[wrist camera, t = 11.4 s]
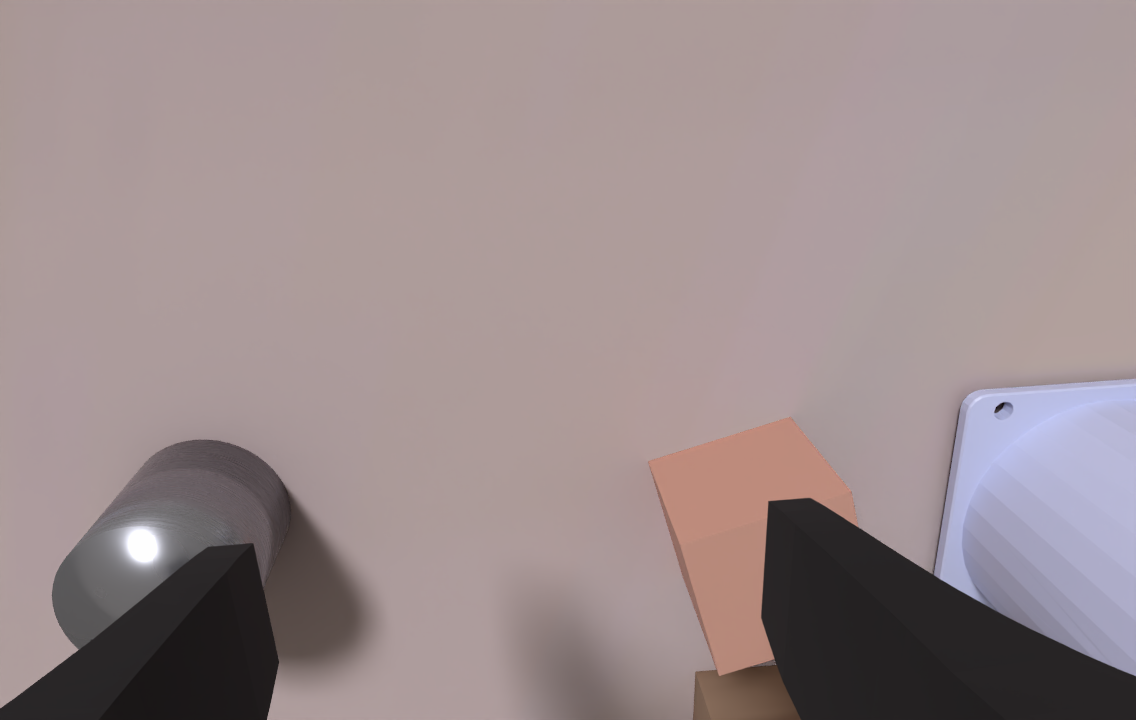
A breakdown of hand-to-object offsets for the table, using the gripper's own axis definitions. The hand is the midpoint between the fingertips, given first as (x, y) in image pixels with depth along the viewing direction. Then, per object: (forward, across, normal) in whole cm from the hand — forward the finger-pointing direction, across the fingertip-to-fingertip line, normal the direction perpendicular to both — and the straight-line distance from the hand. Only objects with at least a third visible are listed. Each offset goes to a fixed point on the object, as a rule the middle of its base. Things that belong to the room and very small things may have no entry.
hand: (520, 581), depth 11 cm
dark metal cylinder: (+10, +8, +4) cm, 13 cm away
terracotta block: (+10, -6, +5) cm, 12 cm away
